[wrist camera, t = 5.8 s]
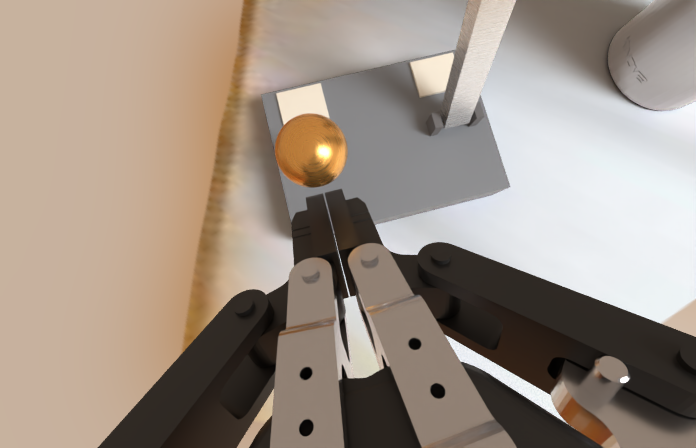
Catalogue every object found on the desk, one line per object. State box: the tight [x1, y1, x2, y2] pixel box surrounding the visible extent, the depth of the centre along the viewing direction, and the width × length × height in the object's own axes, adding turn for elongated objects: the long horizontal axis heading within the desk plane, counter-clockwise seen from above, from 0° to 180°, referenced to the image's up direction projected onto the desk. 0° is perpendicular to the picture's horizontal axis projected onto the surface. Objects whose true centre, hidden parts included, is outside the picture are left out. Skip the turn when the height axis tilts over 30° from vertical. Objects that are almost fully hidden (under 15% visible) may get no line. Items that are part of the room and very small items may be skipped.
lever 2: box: [440, 0, 516, 129], centre depth 17 cm, size 2×2×14 cm
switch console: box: [261, 50, 510, 235], centre depth 25 cm, size 17×12×4 cm
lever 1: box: [275, 113, 348, 188], centre depth 16 cm, size 2×2×14 cm
